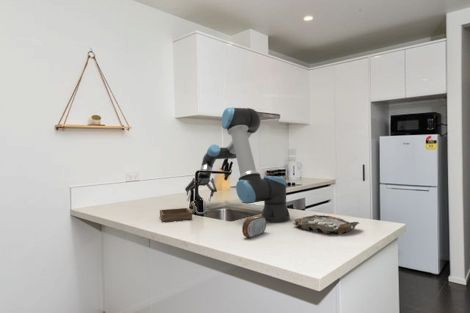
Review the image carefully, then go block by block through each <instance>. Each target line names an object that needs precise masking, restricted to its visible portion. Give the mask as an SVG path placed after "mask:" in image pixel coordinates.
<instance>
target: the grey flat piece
mask: <svg viewBox="0 0 470 313" xmlns="http://www.w3.org/2000/svg"><path fill="white" fill-rule="evenodd" d="M358 224H360V222H359V221H353V222H350V221H348V220H345V219H342V218H340V217H335V216H330V215H317V214H313V215H308V216H303V217H300V218H298V217H297V218H295V219H294V223H293V225H294V226H297V227H298V228H301V229H302V228H303V229H302V230H305V229H309V230H312V231H313V232H316V231H317V232H320V231H319V230H322V233H323V234H325V233H327V234H326V235H328V234H331V233H330V232H335V234H337V235H342V234H344V232H346V233H348V232H350V231H351V230H355V228H356V226H357V225H358ZM310 228H312V229H310ZM341 233H342V234H341Z"/></svg>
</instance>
